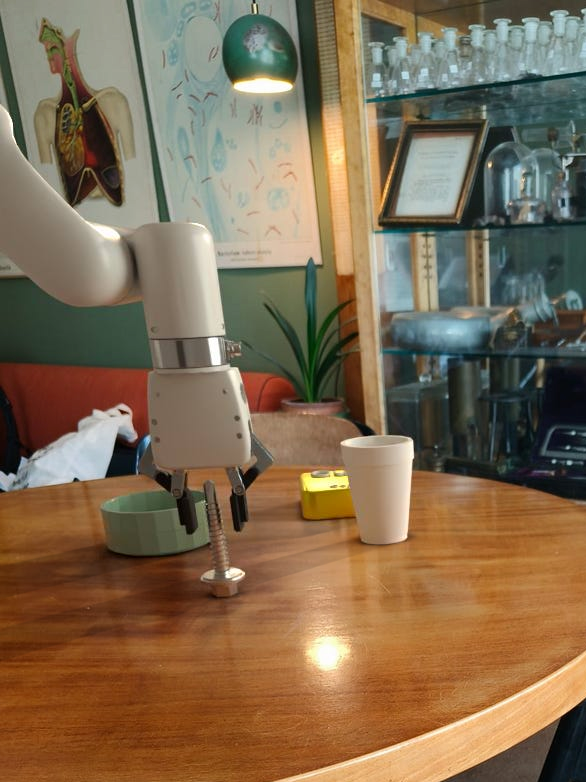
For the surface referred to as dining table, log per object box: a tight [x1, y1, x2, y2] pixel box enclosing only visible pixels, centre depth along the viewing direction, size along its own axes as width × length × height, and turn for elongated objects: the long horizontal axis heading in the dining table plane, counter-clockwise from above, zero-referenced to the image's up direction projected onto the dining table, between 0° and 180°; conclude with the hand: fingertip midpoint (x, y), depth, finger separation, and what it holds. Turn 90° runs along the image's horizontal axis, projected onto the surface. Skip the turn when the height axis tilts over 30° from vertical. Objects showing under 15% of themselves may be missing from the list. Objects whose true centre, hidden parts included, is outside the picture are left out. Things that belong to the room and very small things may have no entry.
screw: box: [200, 479, 246, 598], centre depth 97 cm, size 13×5×5 cm
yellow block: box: [298, 469, 356, 521], centre depth 137 cm, size 15×15×5 cm
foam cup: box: [340, 434, 415, 545], centre depth 117 cm, size 10×9×13 cm
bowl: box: [99, 488, 210, 557], centre depth 120 cm, size 14×14×6 cm
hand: (216, 528), depth 97 cm, fingers open, 4 cm apart
